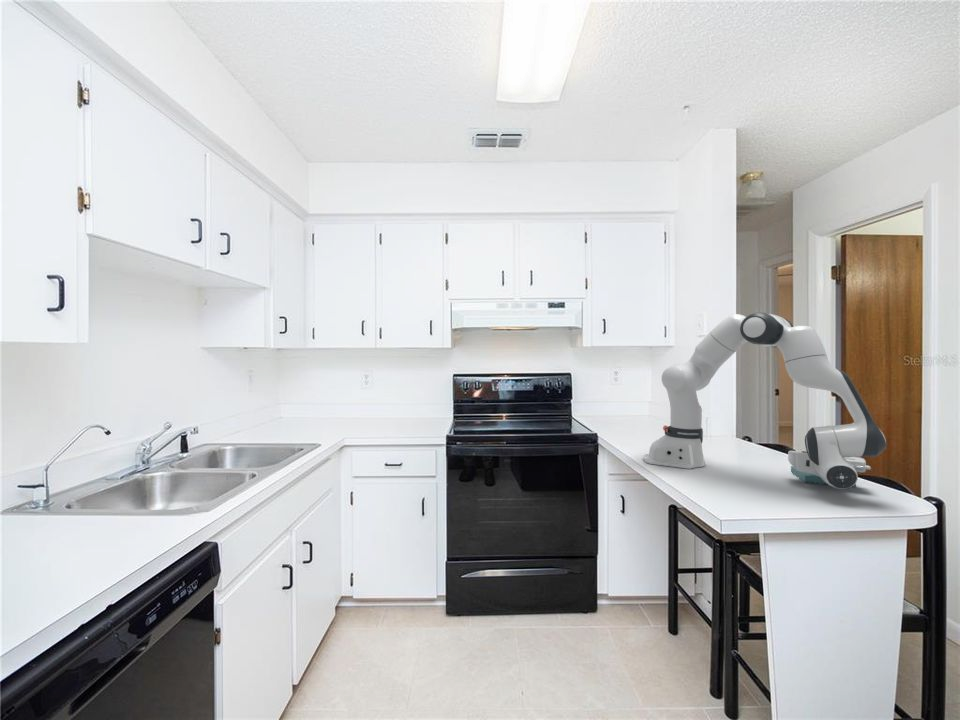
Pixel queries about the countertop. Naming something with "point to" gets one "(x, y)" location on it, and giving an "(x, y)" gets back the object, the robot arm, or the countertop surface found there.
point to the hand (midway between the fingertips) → (821, 456)
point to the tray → (808, 477)
